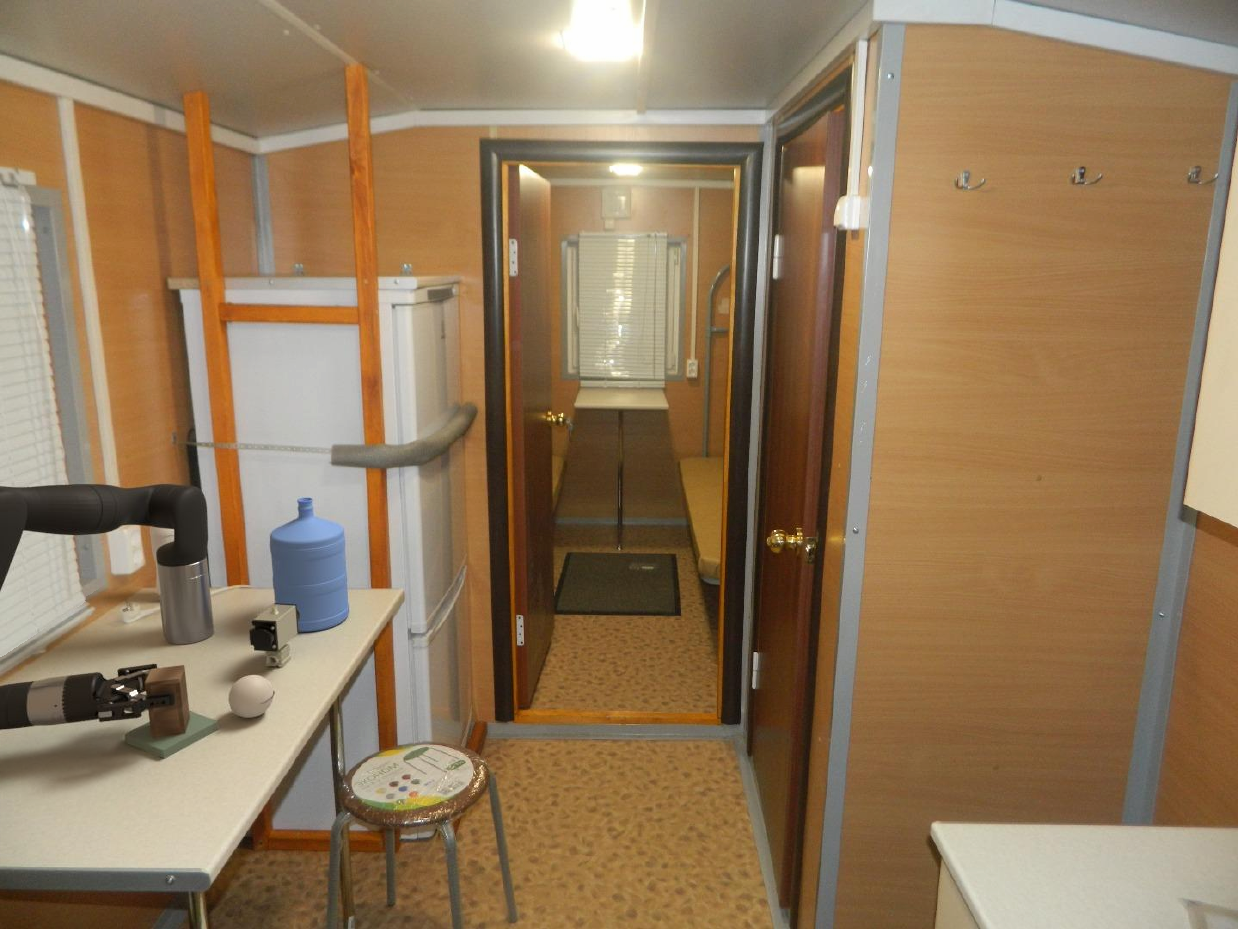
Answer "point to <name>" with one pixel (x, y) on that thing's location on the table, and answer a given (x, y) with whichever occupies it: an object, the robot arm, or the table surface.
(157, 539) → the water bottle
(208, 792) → the table surface
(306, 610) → the water jug
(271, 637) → the pneumatic valve
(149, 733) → the stub base
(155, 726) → the brown wooden block
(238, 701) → the seamed sphere
